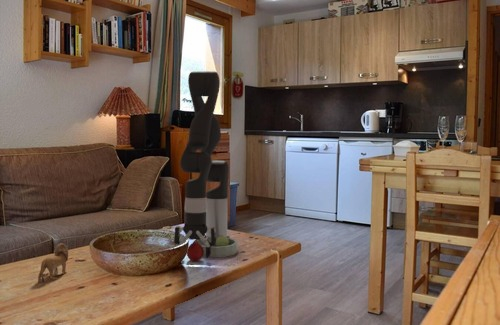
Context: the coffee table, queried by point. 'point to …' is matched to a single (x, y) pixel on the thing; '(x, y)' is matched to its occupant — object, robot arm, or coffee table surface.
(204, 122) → the robot arm
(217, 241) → the lime
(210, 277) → the coffee table surface
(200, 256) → the onion
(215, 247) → the bowl
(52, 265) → the lion figurine
